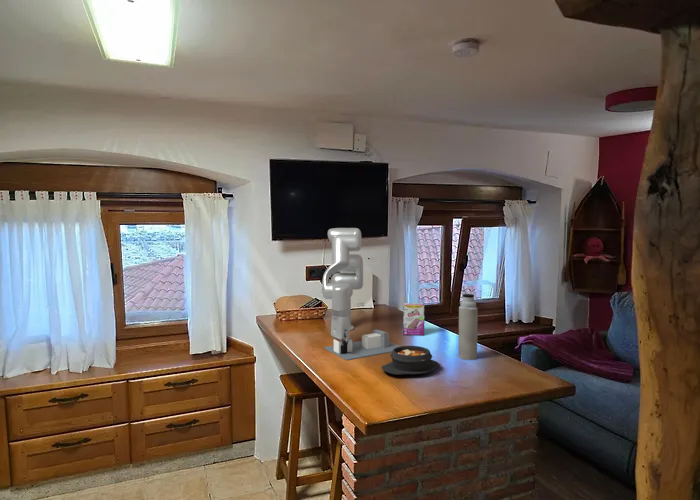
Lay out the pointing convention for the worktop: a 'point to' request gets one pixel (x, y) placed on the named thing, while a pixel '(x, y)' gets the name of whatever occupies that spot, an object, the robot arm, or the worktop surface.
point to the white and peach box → (338, 345)
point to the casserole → (410, 361)
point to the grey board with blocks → (368, 346)
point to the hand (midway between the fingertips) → (340, 351)
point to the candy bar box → (413, 318)
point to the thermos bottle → (468, 328)
